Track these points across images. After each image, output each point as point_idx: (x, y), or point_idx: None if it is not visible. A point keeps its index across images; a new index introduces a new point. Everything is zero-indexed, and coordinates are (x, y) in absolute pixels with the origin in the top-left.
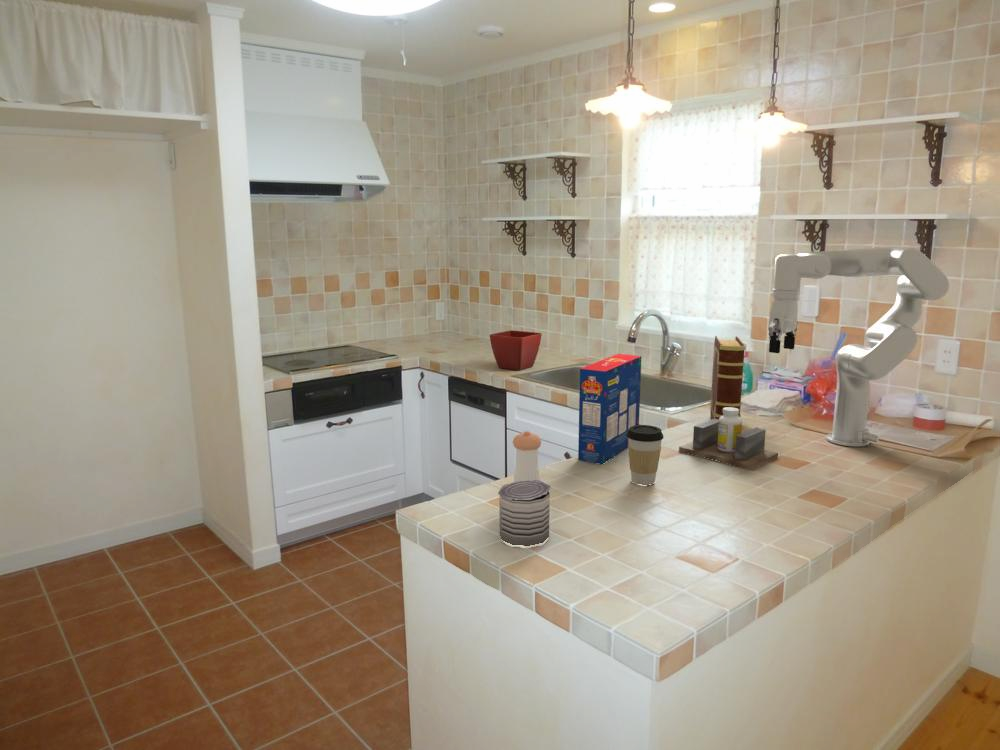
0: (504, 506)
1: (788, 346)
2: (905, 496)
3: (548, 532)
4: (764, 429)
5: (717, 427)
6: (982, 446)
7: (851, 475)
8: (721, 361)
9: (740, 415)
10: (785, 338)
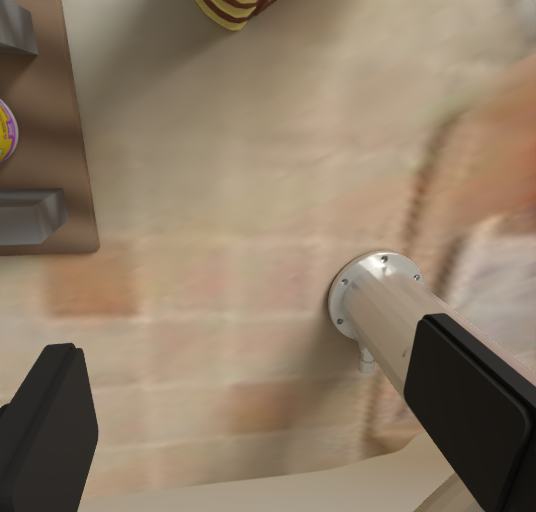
0: None
1: (421, 376)
2: (93, 495)
3: None
4: (38, 240)
5: None
6: None
7: (126, 403)
8: None
9: (246, 14)
10: (499, 406)
